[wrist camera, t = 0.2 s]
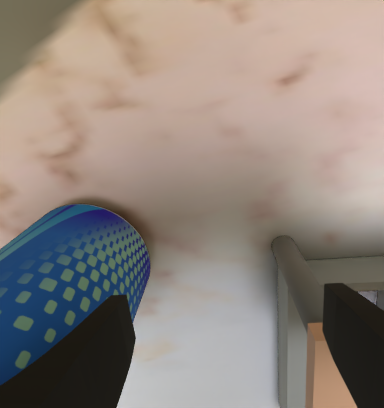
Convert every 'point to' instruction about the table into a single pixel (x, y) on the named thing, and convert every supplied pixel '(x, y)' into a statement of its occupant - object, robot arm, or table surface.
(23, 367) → the beer can
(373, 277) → the socket plate
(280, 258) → the raised peach slab
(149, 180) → the table surface
